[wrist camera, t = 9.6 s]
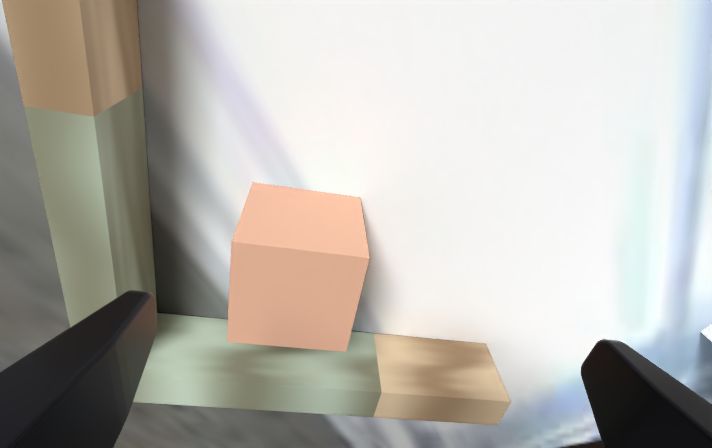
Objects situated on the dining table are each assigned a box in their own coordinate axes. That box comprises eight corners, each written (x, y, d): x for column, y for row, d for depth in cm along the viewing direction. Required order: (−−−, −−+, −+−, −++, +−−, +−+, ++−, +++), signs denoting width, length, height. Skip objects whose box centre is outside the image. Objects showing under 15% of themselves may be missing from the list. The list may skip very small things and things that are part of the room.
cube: (360, 196, 20) (369, 258, 15) (342, 279, 22) (346, 352, 18) (252, 181, 19) (231, 241, 15) (247, 268, 21) (226, 342, 17)
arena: (656, -9, 16) (748, -5, 12) (475, 366, 26) (497, 425, 23) (58, -156, 13) (-42, -205, 9) (121, 336, 23) (85, 398, 20)
